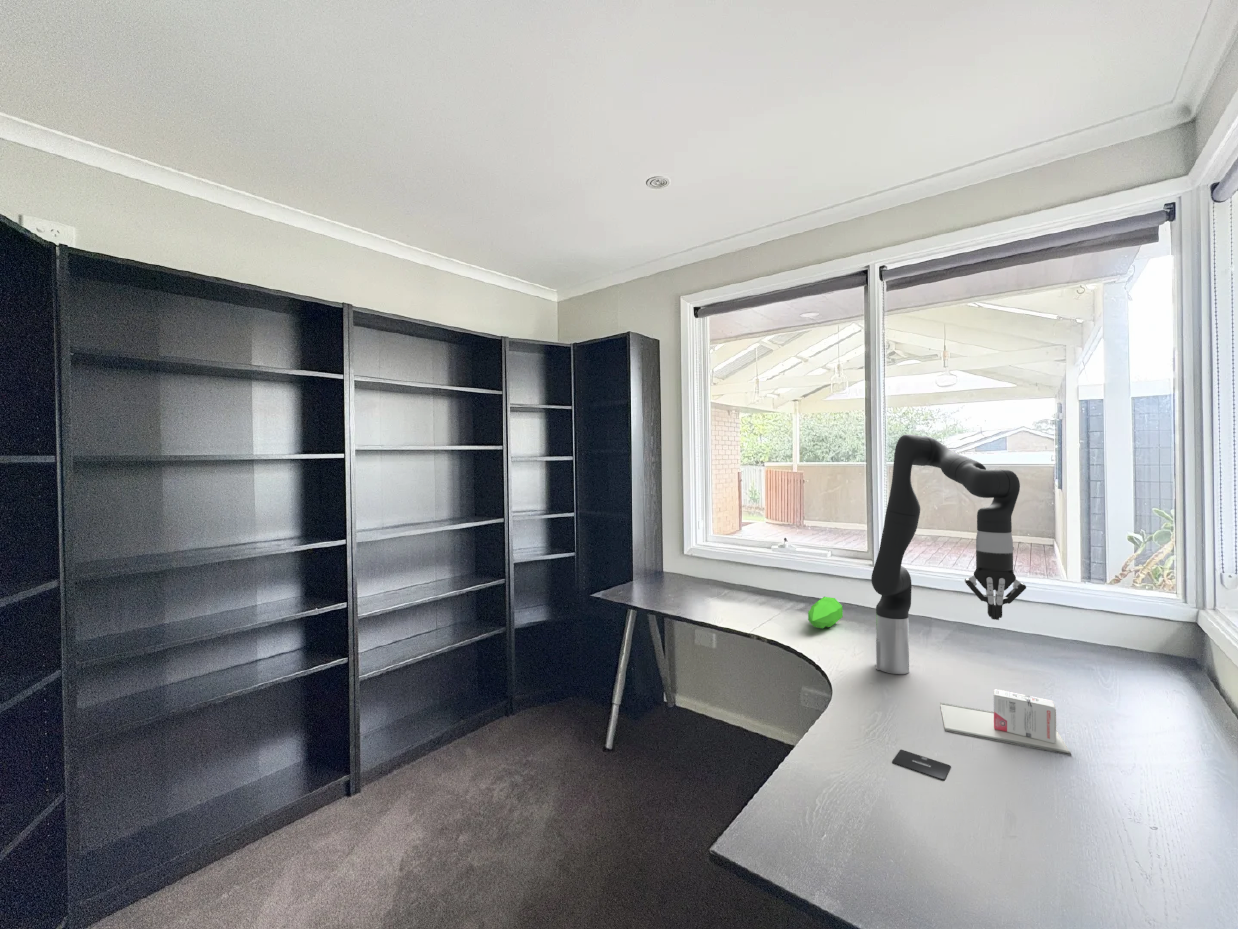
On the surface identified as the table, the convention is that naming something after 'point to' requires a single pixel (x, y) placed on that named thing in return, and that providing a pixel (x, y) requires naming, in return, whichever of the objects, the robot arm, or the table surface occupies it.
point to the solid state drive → (922, 764)
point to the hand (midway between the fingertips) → (994, 618)
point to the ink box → (1025, 715)
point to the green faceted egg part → (825, 612)
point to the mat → (991, 728)
